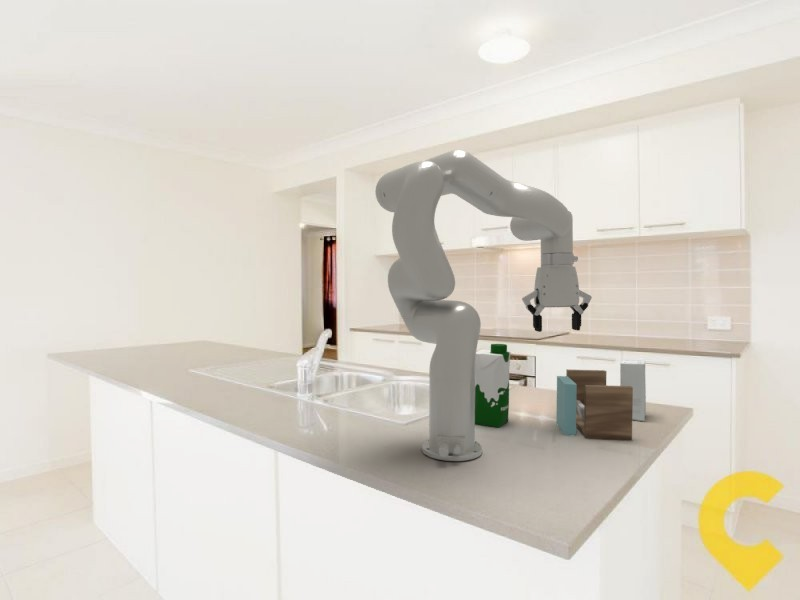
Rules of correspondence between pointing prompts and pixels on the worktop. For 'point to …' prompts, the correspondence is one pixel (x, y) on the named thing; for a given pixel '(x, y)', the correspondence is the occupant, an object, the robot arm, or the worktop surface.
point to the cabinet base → (602, 406)
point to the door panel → (566, 405)
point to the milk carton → (492, 386)
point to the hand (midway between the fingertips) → (557, 330)
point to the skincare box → (635, 385)
